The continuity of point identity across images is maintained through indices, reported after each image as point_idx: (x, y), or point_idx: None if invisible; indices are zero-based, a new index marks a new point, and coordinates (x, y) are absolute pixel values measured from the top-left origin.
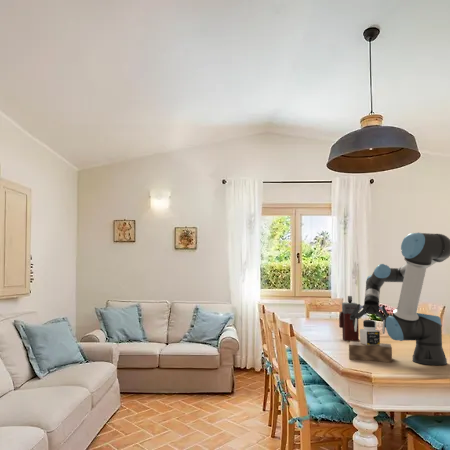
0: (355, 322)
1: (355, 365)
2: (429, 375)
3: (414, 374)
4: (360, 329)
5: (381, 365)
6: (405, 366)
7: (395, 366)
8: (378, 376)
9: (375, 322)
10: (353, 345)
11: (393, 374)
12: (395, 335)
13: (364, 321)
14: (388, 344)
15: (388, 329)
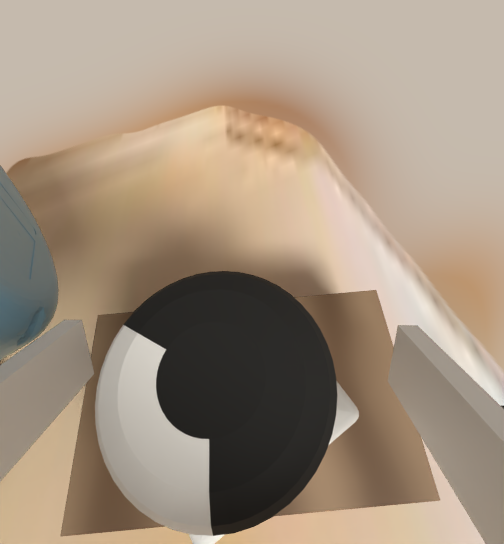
0: (479, 395)
1: (290, 204)
2: (49, 174)
3: (95, 167)
4: (351, 402)
5: (192, 248)
6: (93, 274)
7: (136, 255)
8: (206, 109)
9: (111, 350)
10: (345, 293)
11: (162, 142)
12: (24, 201)
13: (301, 307)
14: (90, 473)
15: (19, 259)
